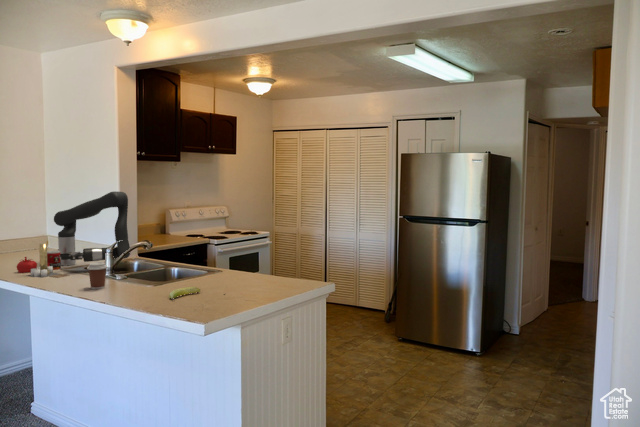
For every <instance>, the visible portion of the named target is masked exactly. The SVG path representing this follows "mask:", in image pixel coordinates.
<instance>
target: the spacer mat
mask: <svg viewBox="0 0 640 427" xmlns="http://www.w3.org/2000/svg"><path fill="white" fill-rule="evenodd" d="M48 271H49V275H47V269H43V270H41V276H40V266H37V269H36V268H34V269H31V272H30V274H27V275H25V277H32V278H33V277H34V278H40V279H42V278H48V277H49V276H53V275H58V274H61V273H60V272H59V273H58V272H54V270H53V267H52V266H48ZM49 278H50V277H49Z"/></svg>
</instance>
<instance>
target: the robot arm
mask: <svg viewBox="0 0 640 427" xmlns="http://www.w3.org/2000/svg"><path fill="white" fill-rule="evenodd" d="M128 207H129V197H128V195H127V193H126V192H124V191H110V192H108V193H106V194H104V195H103V196H100V197H99V198H95V199H92V200H88V201H85V202H83V203H79V205H76V206H74V207H71V208H69V209H66V210H65V209H64V210H60V211H58V212H56V213H55V214H54V216H53V222H54V223H55V225H57V226H60V227H63V228H62V230H60V231H58V233H57V239H58V241H57V242H58V248H57V251H60V257H61V266H71V265H76V264H77V262H76V261H78V260H83V262H85V263H88V262H90V263H91V262H100V261H106V260H105V253H106V249H107V248H108V247H89V248H83V249H82V252H81V251H76V236H75V235H76V231H77V221H79V220H85V219H88V218H91V217H95V216H97V215H98V214H100V213H101V212H102V211H103V210H105V209H110V208H117V210H118V211H117V214H118V215H117V219H116V222H115V224H114V237H115V238H114V239H115V243H116V246H117V247H116V246H115V247H113V248H114V249H113V256H114V258H115V259H114V260H117V259H116V258H117V257H119V256H120V255H121V254H122V253H123V252H125V251H126V250H128V249H129V248H130V249H131V246H130V242H129V234H128V209H129V208H128ZM119 240H123V241H120V242H118V243H117V241H119ZM130 255H131V252H130V253H128V254H127V255H126V256H125V257H124V258H123V259H124V260H126V259H127V258H129V257H130Z"/></svg>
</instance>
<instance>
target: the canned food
mask: <svg viewBox="0 0 640 427" xmlns="http://www.w3.org/2000/svg"><path fill="white" fill-rule="evenodd" d="M47 265H48V266H52V267H53V271H57V270H61V269H62V265H61V257H60V251H58V250H47Z"/></svg>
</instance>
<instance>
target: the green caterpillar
mask: <svg viewBox="0 0 640 427" xmlns="http://www.w3.org/2000/svg"><path fill="white" fill-rule="evenodd" d="M196 292H199V293H200V292H201V288H199V287H197V286H190V287H189V286H188V287H181V288H176V289H174V290H172V291H171V292H170V293H169V294H168V298H169V299H170V298H171V299H172V300H174V299H173V298H175V297H177V296H180V295H184V294H189V293H196ZM171 299H170V300H171ZM175 299H176V298H175ZM174 301H175V300H174Z"/></svg>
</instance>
